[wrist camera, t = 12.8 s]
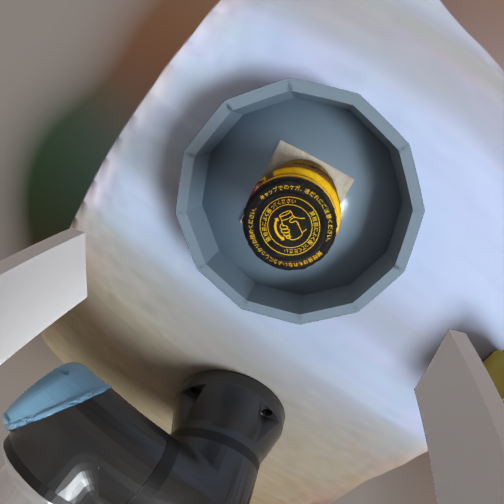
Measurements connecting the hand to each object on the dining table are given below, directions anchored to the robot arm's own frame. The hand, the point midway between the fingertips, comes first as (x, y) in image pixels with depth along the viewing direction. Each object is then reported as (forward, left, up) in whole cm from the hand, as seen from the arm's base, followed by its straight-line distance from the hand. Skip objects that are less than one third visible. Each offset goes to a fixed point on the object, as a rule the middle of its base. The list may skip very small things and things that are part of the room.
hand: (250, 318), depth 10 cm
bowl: (0, 0, -21) cm, 21 cm away
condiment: (0, 0, -20) cm, 20 cm away
